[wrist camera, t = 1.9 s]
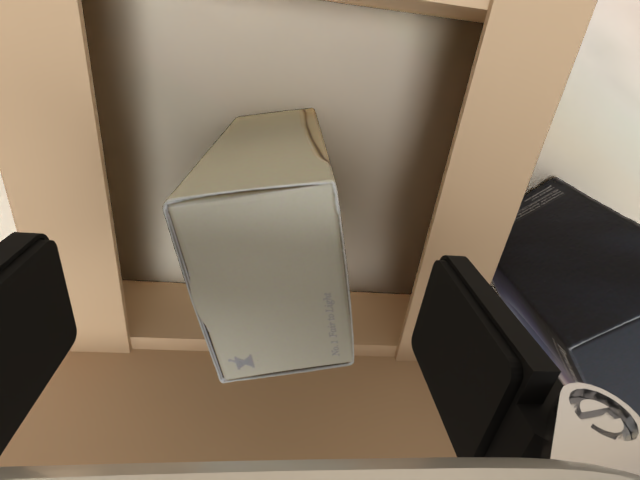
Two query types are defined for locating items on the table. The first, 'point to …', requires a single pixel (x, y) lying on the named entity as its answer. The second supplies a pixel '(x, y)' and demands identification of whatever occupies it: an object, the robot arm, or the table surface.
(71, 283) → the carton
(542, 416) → the robot arm
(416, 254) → the table surface
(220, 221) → the skincare box
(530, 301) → the small box
